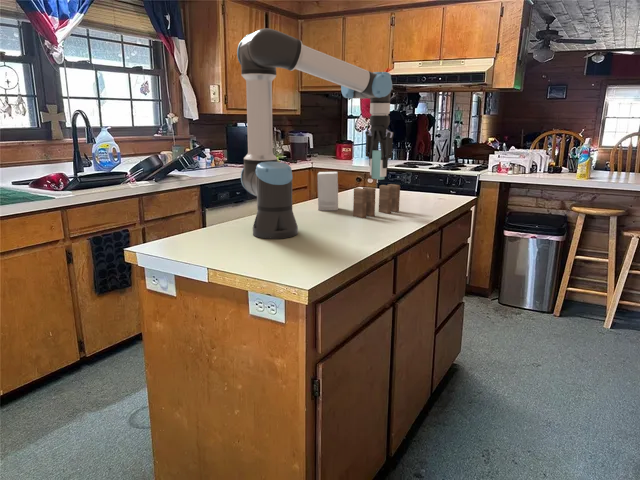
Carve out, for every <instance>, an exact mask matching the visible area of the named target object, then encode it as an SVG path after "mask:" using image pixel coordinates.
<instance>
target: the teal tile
mask: <svg viewBox="0 0 640 480" xmlns="http://www.w3.org/2000/svg"><path fill="white" fill-rule="evenodd" d="M381 159H382V154H381V149H380V150H378V149H377V150H372V175H371V179H373V180H379V181H381V180H385V177H380V160H381Z"/></svg>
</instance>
